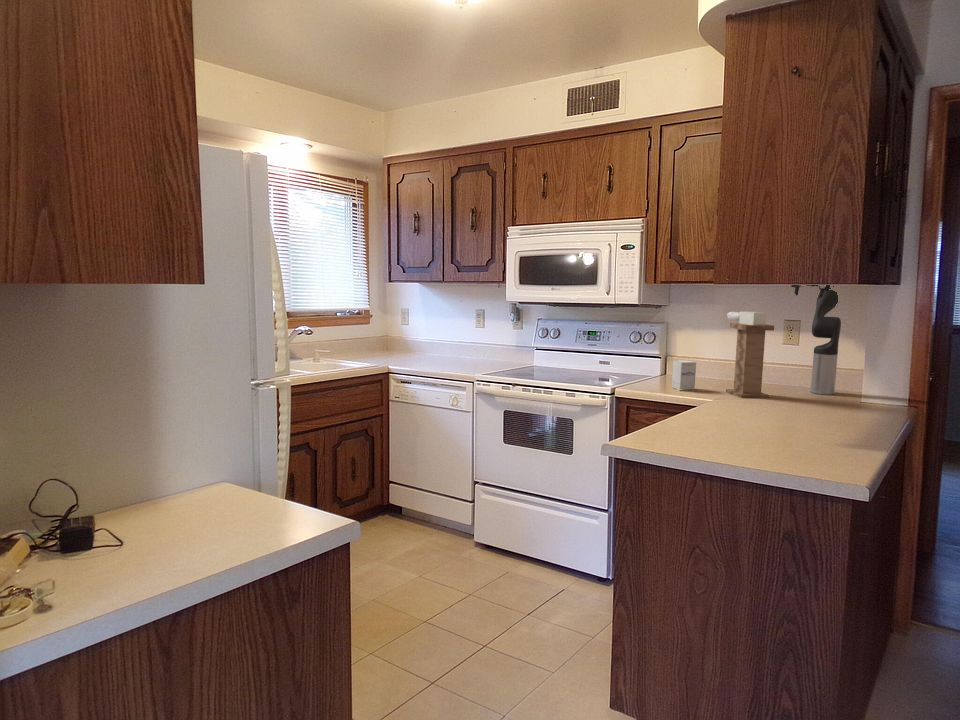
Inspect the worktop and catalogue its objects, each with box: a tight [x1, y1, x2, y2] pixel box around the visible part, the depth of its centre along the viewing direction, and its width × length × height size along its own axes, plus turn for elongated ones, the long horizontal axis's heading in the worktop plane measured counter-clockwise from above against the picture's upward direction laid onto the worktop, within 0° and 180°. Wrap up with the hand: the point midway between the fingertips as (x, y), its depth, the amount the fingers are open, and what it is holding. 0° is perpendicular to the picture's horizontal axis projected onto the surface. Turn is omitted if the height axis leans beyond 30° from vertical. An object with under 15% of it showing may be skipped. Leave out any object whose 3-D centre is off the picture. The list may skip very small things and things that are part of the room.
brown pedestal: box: [725, 322, 775, 399], centre depth 274 cm, size 14×12×30 cm
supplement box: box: [671, 359, 697, 389], centre depth 287 cm, size 7×7×13 cm
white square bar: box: [726, 311, 767, 325], centre depth 278 cm, size 25×5×5 cm, turn 5°
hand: (808, 295), depth 265 cm, fingers open, 8 cm apart
